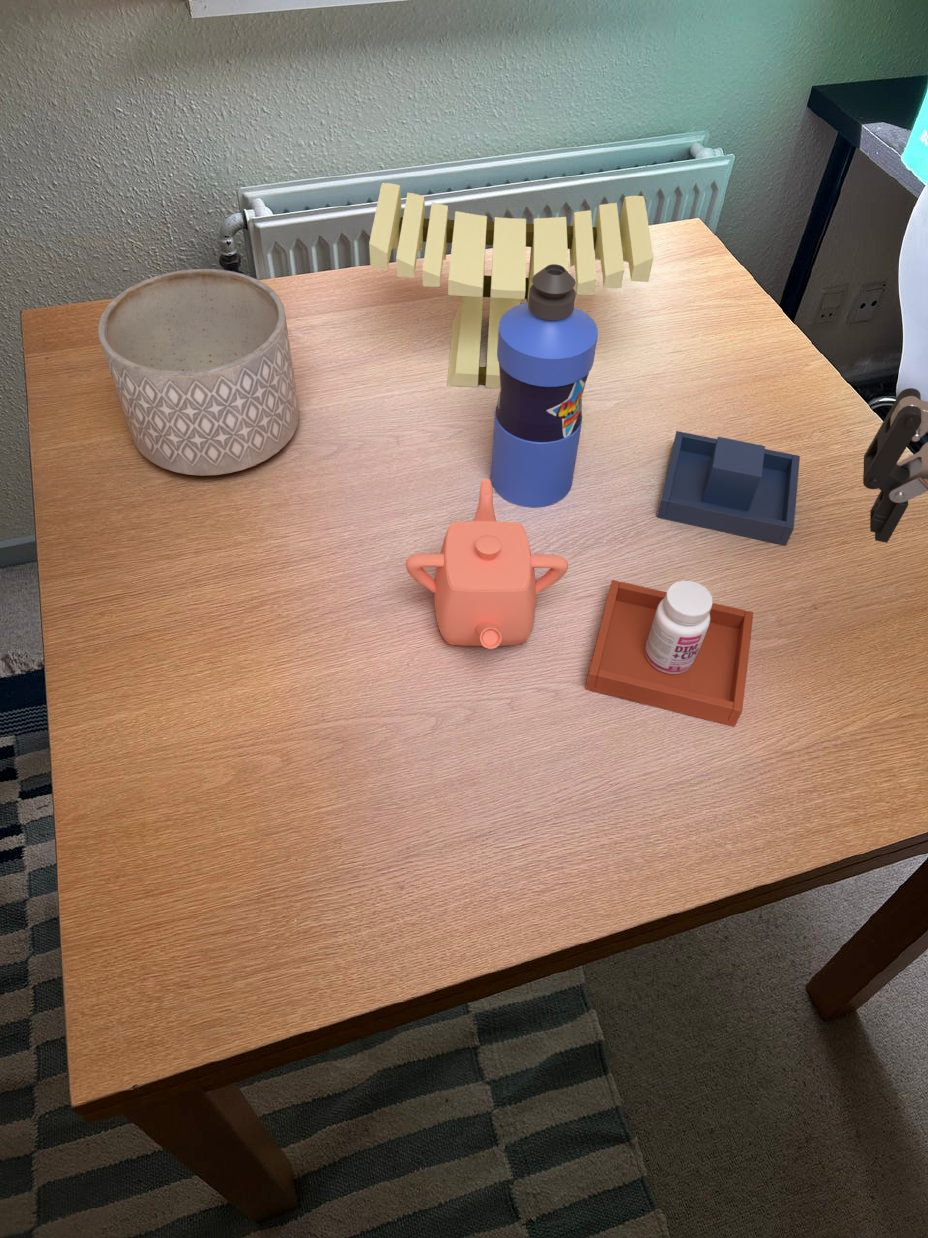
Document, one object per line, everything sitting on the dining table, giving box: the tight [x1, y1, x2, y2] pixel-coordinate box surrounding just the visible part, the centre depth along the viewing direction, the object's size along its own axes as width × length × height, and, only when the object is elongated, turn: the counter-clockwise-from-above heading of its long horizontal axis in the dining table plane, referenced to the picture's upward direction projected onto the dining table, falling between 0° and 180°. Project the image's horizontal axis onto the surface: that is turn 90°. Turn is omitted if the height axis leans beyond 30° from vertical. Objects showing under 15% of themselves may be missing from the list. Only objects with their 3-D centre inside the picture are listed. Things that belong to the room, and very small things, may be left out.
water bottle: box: [489, 264, 599, 508], centre depth 91 cm, size 9×9×25 cm
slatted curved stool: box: [368, 182, 654, 389], centre depth 108 cm, size 30×16×18 cm, turn 87°
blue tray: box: [656, 430, 801, 546], centre depth 99 cm, size 14×12×3 cm
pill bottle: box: [645, 580, 714, 674], centre depth 82 cm, size 5×5×8 cm
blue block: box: [702, 436, 766, 511], centre depth 98 cm, size 5×5×5 cm
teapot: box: [405, 478, 569, 650], centre depth 85 cm, size 14×12×10 cm
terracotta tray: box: [584, 579, 754, 728], centre depth 85 cm, size 14×12×3 cm
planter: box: [97, 268, 300, 477], centre depth 99 cm, size 19×19×14 cm
